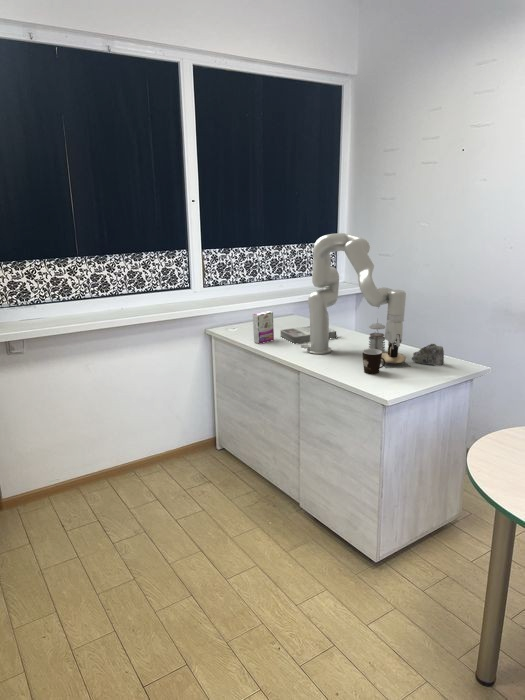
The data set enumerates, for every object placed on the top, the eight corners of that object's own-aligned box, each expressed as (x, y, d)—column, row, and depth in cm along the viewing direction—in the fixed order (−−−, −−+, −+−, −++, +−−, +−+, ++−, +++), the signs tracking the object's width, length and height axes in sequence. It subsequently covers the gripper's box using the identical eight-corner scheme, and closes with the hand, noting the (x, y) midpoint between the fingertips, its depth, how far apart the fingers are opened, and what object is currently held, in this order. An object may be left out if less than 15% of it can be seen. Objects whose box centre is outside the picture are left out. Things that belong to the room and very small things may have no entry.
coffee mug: (359, 370, 228) (359, 349, 225) (377, 369, 228) (378, 348, 226) (366, 379, 216) (367, 356, 214) (386, 378, 217) (387, 355, 214)
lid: (384, 363, 228) (385, 351, 227) (375, 355, 240) (376, 344, 238) (409, 362, 229) (410, 350, 228) (400, 354, 241) (400, 343, 239)
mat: (385, 369, 228) (385, 368, 228) (377, 361, 240) (377, 360, 240) (411, 367, 230) (411, 366, 229) (401, 360, 241) (401, 358, 241)
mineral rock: (410, 363, 236) (411, 342, 234) (423, 358, 243) (424, 338, 240) (434, 369, 227) (436, 348, 224) (447, 364, 233) (449, 343, 230)
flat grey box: (336, 338, 284) (337, 331, 283) (293, 344, 274) (293, 337, 273) (321, 332, 300) (321, 324, 299) (279, 337, 291) (279, 330, 289)
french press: (386, 350, 257) (388, 302, 250) (385, 357, 246) (388, 307, 239) (367, 350, 259) (368, 302, 253) (365, 356, 249) (367, 306, 242)
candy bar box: (268, 338, 286) (267, 310, 282) (274, 340, 283) (273, 311, 278) (253, 342, 279) (252, 313, 275) (259, 344, 276) (258, 315, 271)
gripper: (381, 313, 236) (378, 351, 241) (393, 321, 221) (390, 361, 226) (396, 313, 237) (394, 350, 242) (410, 321, 221) (407, 361, 227)
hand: (392, 355), depth 234 cm, fingers closed on lid, 2 cm apart
